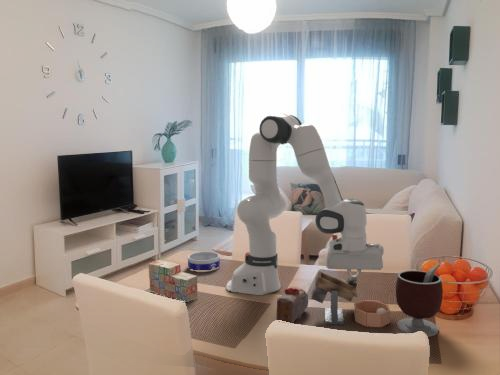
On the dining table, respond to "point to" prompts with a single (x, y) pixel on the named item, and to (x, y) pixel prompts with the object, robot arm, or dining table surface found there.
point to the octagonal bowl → (371, 313)
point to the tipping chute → (333, 287)
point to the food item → (291, 304)
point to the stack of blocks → (172, 281)
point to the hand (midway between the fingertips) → (354, 280)
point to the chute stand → (334, 311)
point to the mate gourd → (419, 299)
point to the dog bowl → (203, 260)
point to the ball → (380, 310)
